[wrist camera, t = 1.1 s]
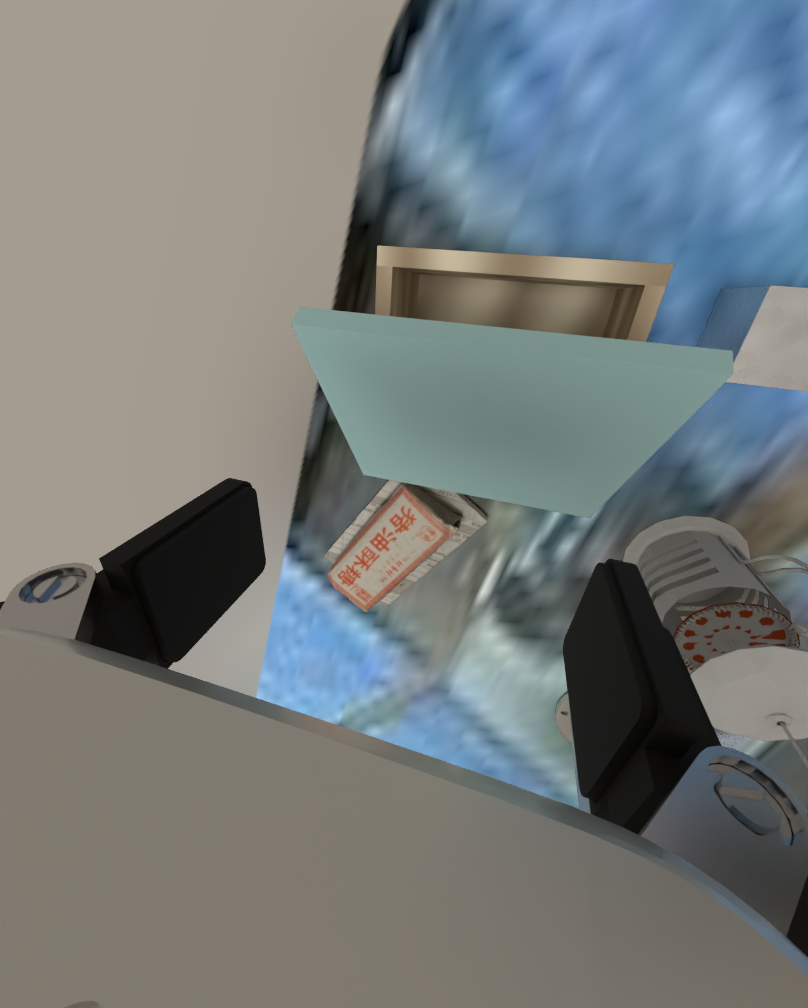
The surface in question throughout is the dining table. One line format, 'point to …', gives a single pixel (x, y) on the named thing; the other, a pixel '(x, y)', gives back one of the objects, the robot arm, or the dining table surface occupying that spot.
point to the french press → (727, 626)
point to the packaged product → (399, 541)
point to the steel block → (762, 335)
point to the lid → (503, 404)
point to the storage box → (521, 291)
